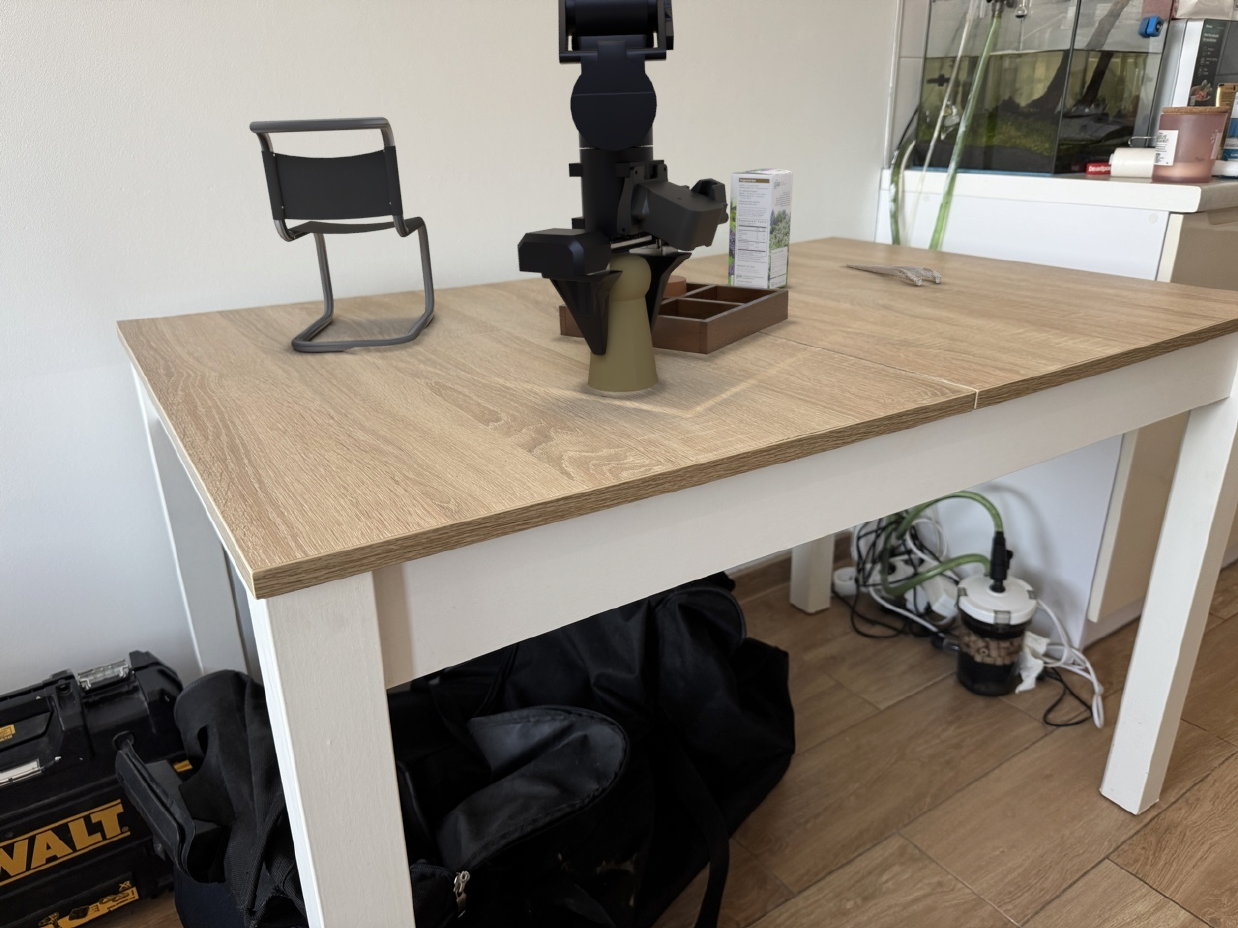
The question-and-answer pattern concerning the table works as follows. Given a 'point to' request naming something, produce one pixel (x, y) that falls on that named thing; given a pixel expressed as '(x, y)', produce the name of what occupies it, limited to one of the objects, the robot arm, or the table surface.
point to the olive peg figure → (626, 332)
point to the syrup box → (760, 228)
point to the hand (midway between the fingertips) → (622, 346)
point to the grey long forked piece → (902, 272)
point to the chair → (339, 208)
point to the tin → (675, 286)
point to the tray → (707, 316)
